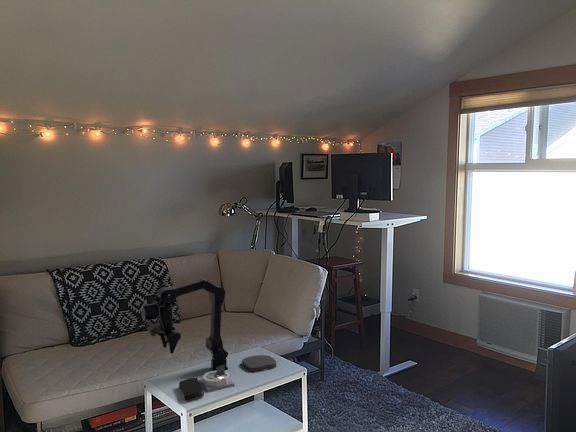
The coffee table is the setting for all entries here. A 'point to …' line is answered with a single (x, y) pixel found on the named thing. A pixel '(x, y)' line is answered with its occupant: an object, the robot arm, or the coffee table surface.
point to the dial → (219, 373)
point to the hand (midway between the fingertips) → (168, 350)
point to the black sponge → (191, 388)
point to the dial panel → (216, 382)
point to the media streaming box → (259, 363)
